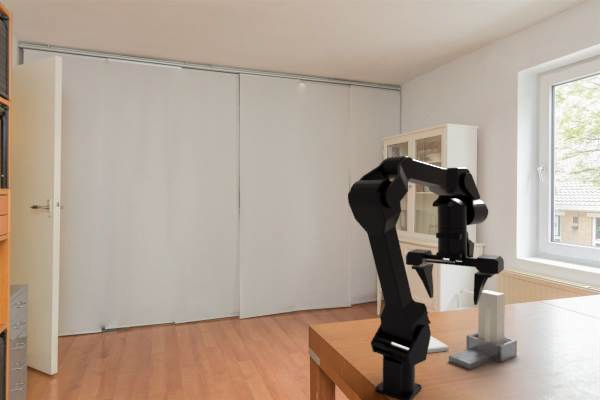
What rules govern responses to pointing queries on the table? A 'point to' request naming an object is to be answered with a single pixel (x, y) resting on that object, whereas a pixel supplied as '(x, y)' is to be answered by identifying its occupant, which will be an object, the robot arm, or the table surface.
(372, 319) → the table surface
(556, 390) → the table surface
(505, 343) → the grey tray with tab
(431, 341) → the external hard drive
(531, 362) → the table surface
